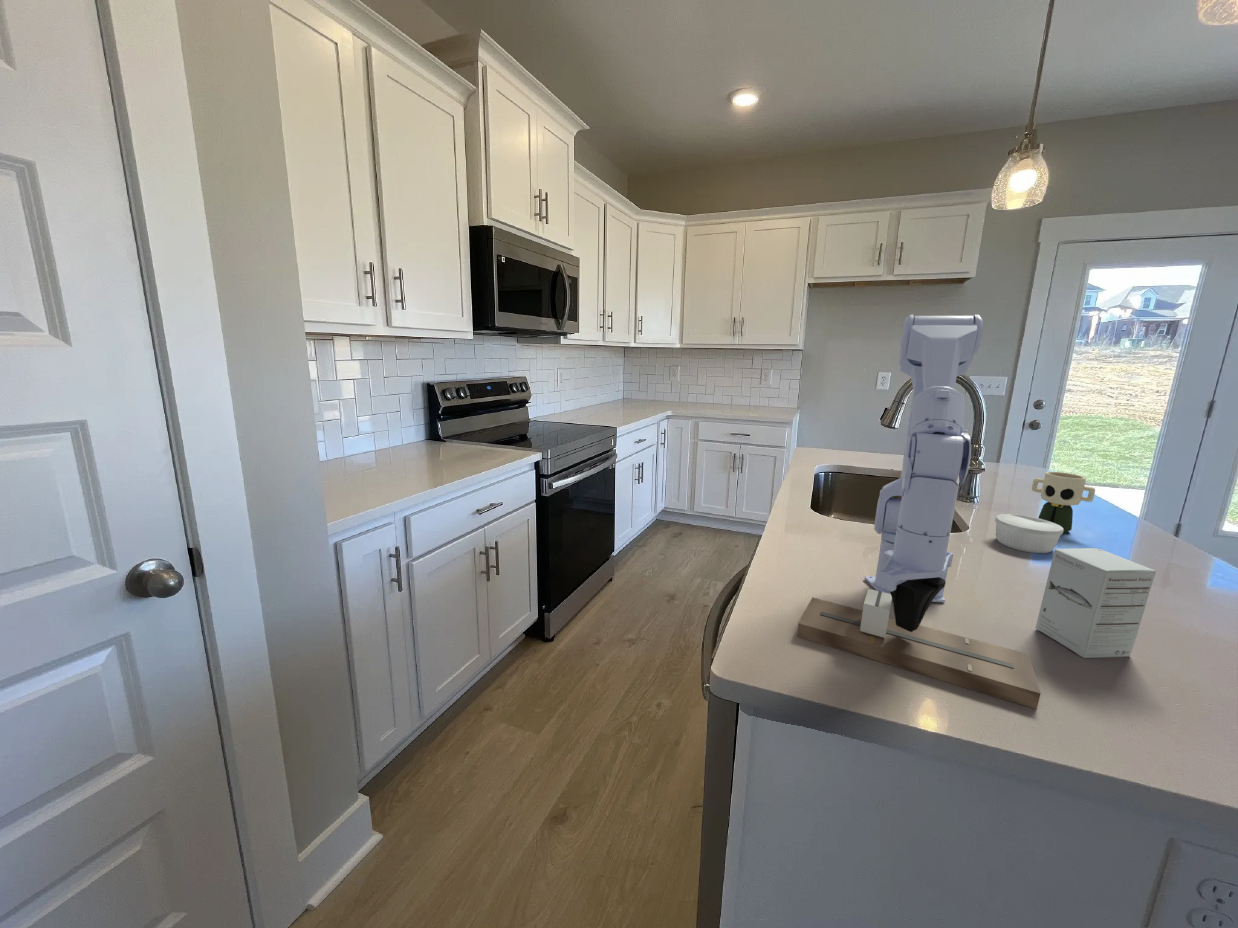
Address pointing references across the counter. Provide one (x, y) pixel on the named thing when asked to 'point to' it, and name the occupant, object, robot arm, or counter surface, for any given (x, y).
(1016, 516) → the ramekin
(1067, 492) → the character mug
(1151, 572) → the supplement box
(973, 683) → the fader board
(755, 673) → the counter surface
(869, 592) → the fader knob
